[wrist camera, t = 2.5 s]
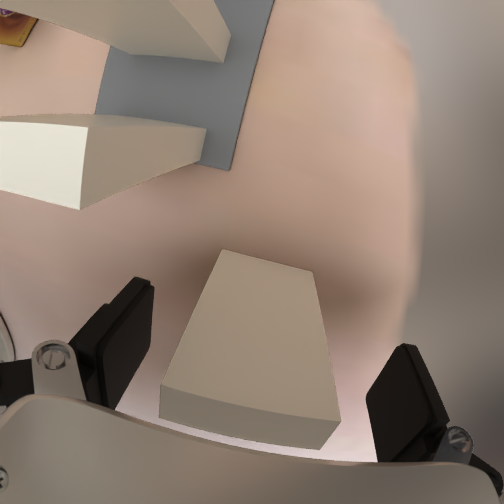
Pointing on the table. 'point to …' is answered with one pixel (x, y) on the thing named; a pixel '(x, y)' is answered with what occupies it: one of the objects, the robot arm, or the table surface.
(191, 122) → the mat
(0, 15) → the candy box
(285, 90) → the table surface
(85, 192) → the domino
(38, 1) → the domino
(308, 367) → the domino
